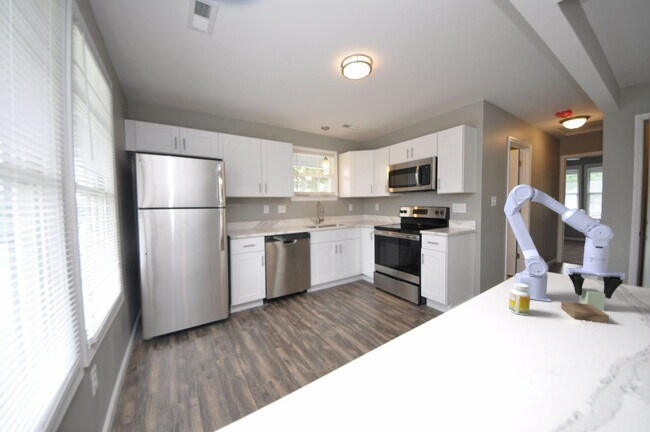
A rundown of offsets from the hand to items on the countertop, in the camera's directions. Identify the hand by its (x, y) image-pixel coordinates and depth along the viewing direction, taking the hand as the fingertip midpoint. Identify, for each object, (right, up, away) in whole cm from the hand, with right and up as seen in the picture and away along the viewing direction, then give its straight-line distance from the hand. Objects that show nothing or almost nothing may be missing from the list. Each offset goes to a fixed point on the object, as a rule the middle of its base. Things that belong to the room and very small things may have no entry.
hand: (592, 295), depth 86 cm
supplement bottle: (-28, -5, -3) cm, 29 cm away
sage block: (0, -4, 0) cm, 4 cm away
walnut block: (-9, -5, -5) cm, 12 cm away
